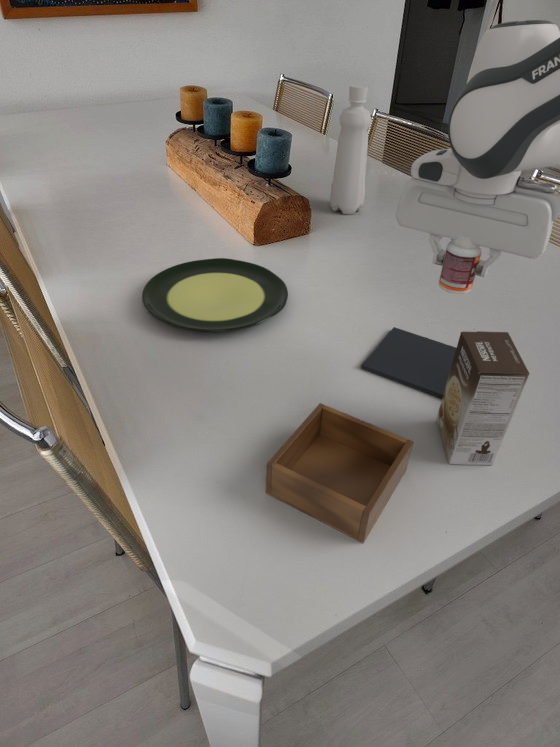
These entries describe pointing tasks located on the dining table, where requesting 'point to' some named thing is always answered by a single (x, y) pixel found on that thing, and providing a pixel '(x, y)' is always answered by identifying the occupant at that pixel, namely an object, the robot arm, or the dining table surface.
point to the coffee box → (480, 397)
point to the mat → (412, 361)
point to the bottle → (351, 154)
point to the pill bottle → (459, 266)
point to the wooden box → (339, 470)
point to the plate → (215, 295)
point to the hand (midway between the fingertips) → (458, 268)
